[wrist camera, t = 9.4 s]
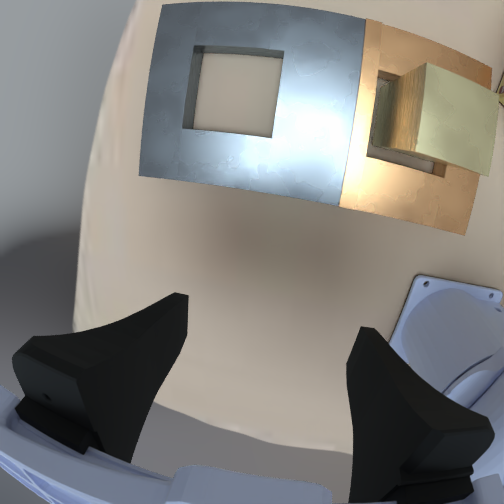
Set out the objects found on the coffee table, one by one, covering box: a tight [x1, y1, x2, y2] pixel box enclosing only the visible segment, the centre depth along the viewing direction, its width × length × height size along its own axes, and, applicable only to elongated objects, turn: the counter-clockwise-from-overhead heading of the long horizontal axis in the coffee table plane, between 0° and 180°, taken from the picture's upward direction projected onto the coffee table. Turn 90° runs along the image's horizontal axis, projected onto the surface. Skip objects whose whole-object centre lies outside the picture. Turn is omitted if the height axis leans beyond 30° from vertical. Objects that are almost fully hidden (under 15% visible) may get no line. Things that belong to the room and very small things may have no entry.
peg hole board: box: [139, 2, 492, 236], centre depth 17 cm, size 22×12×2 cm, turn 83°
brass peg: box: [372, 62, 499, 177], centre depth 14 cm, size 4×4×8 cm
